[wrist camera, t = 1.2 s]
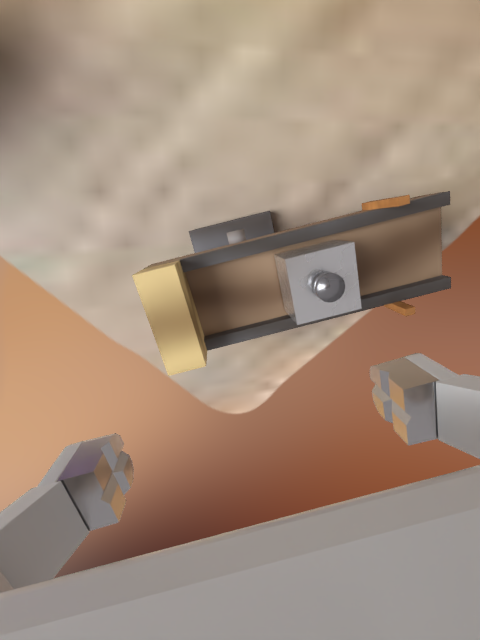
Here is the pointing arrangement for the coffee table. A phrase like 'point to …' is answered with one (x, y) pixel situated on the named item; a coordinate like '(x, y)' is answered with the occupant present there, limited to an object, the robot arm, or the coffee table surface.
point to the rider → (319, 280)
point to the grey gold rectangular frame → (263, 283)
